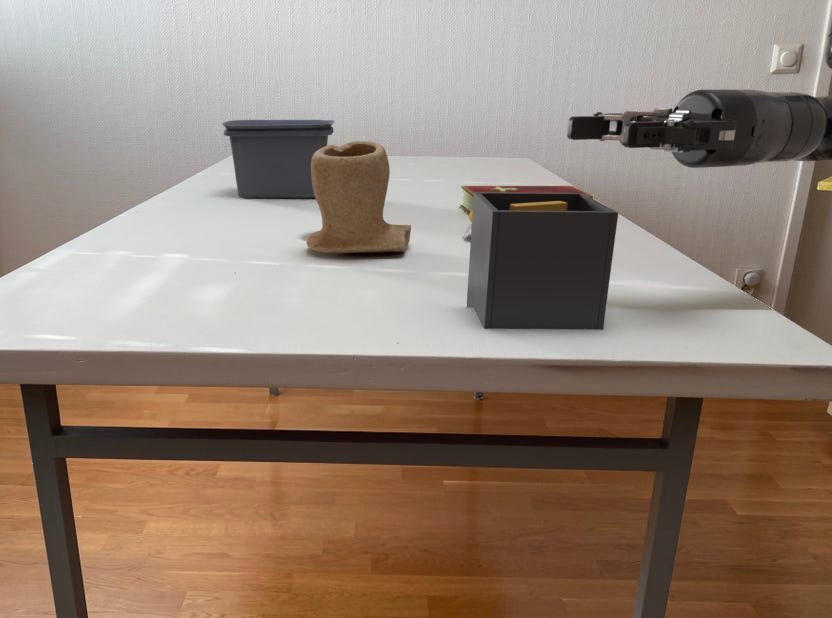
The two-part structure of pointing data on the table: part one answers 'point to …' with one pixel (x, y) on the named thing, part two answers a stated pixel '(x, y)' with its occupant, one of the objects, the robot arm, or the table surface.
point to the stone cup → (354, 200)
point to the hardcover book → (469, 191)
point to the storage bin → (276, 155)
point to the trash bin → (540, 261)
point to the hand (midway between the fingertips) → (596, 131)
